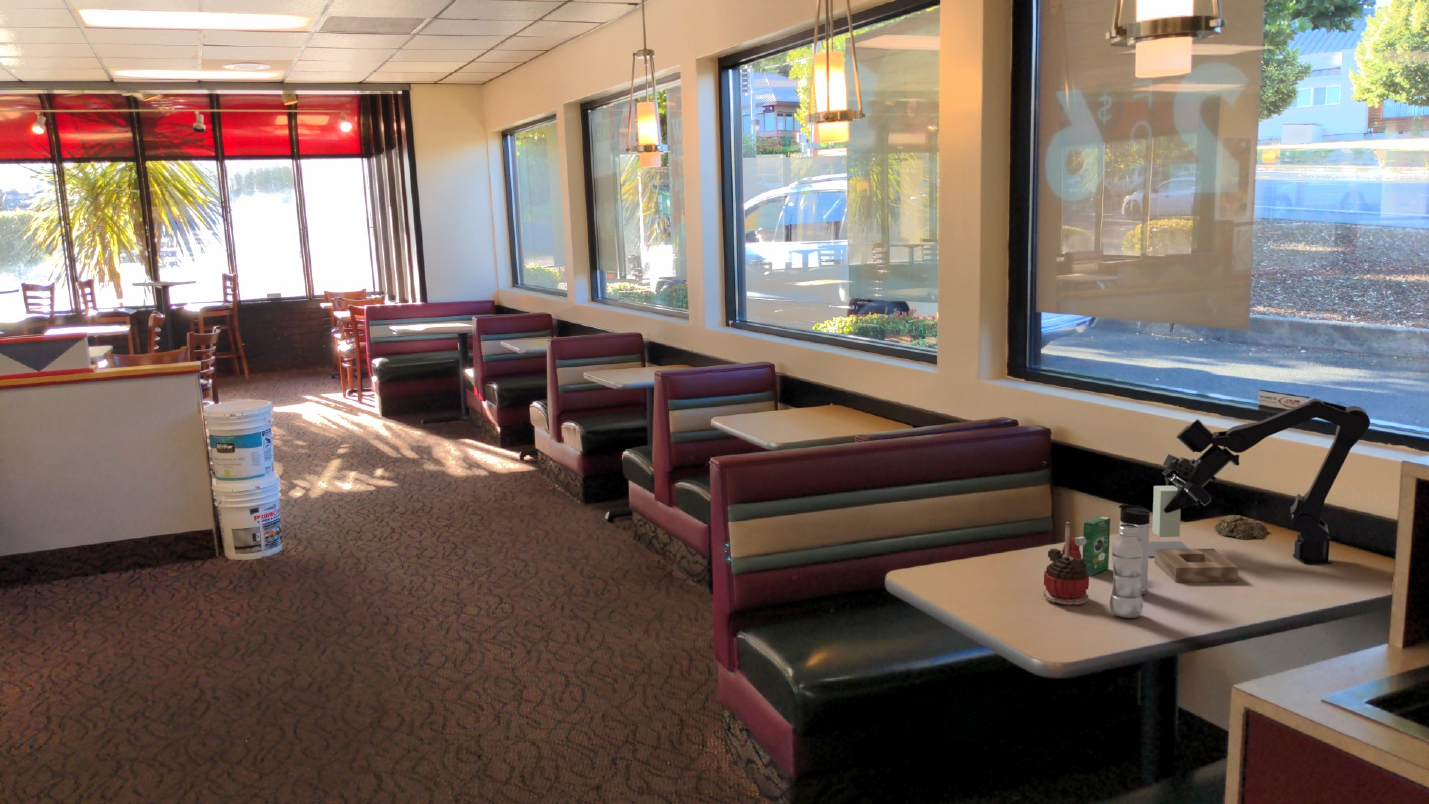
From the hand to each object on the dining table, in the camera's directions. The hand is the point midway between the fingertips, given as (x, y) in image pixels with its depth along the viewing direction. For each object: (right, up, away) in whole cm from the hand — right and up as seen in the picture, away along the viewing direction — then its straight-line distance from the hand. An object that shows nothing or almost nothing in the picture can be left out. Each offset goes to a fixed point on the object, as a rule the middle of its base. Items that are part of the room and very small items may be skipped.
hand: (1161, 508), depth 262 cm
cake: (-35, -17, -30) cm, 49 cm away
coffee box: (-21, -14, -12) cm, 28 cm away
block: (+2, -6, +1) cm, 7 cm away
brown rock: (+27, -8, +14) cm, 32 cm away
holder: (+1, -14, -15) cm, 20 cm away
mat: (+2, -11, +2) cm, 11 cm away
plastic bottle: (-25, -19, -41) cm, 52 cm away
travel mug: (-18, -16, -26) cm, 36 cm away
